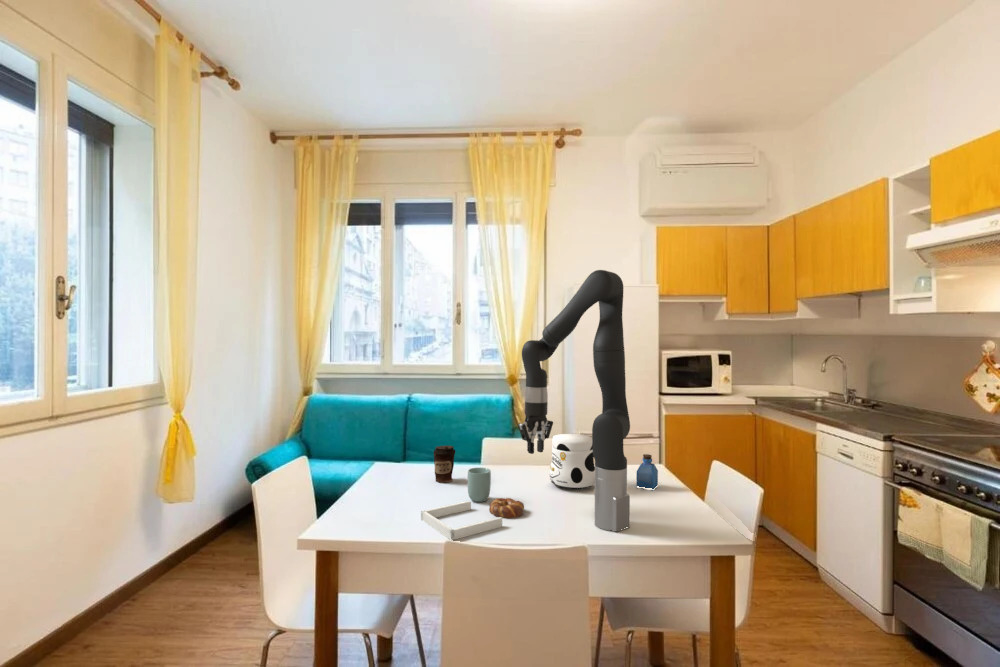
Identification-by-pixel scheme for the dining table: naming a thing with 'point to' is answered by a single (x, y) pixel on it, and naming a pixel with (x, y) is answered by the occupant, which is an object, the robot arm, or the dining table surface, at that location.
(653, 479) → the perfume bottle
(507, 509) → the pretzel
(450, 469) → the coffee cup
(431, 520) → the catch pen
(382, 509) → the dining table surface
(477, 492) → the cup
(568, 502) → the dining table surface
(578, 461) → the milk container
